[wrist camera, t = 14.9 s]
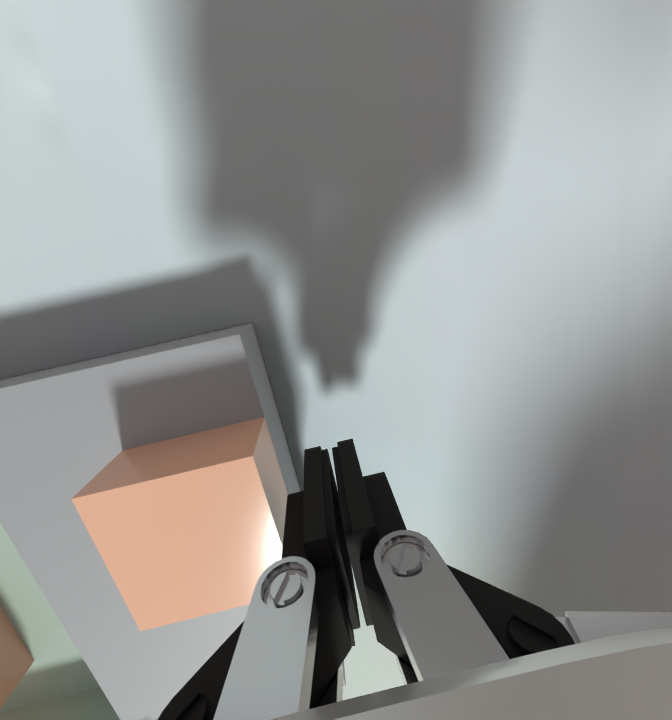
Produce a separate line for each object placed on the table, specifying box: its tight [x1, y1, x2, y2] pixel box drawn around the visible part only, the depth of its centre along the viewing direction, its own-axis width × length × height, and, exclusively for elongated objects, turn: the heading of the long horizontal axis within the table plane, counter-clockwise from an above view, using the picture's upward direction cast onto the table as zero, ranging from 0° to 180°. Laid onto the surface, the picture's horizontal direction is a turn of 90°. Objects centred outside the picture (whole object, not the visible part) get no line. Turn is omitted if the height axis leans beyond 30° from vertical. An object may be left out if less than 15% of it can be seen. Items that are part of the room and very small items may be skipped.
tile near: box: [71, 417, 288, 631], centre depth 11 cm, size 5×5×2 cm
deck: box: [0, 323, 346, 720], centre depth 14 cm, size 10×17×2 cm, turn 12°
